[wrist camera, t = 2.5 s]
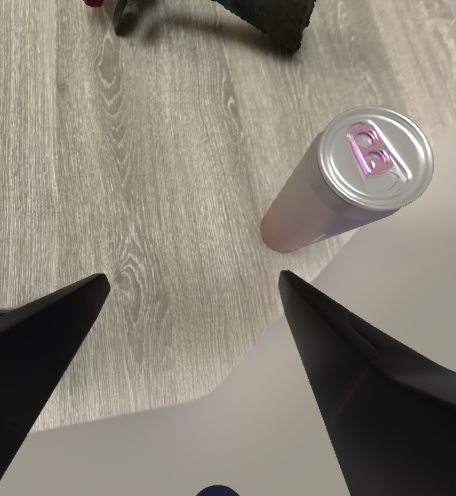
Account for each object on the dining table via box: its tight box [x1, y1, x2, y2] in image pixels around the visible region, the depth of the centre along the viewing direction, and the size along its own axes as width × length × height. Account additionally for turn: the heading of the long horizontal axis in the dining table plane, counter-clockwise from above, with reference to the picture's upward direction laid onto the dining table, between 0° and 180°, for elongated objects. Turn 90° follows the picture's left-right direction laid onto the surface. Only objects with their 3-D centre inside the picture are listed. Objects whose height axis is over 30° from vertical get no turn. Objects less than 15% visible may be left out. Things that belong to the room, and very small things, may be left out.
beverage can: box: [261, 106, 434, 252], centre depth 16 cm, size 6×6×15 cm
